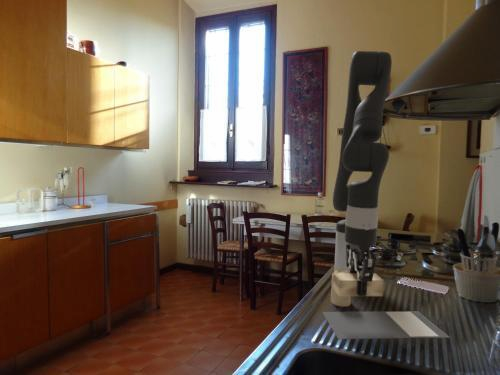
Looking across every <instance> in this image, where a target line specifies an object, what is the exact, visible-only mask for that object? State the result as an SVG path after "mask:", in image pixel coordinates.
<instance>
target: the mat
mask: <svg viewBox="0 0 500 375" xmlns="http://www.w3.org/2000/svg"><path fill="white" fill-rule="evenodd" d="M321 313H322V314H323V316H324V317H325V320H326V321H327V323H328V325H329V326H330V328H331V329H332V331H333V332H334V334H335V337H336V338H337V339H338V340H357V339H359V340H360V339H361V340H365V339H366V340H367V339H369V340H370V339H372V340H373V339H379V340H381V339H382V340H383V339H450V338H451V336H449V335H448V334H447V333H445V331H444V330H442V329H440V328H439V327H438V326H437V325H436V324H435V323H434V322H432V321H431V320H430V319H428V318H427V317H426V316H425V315H424V314H422V313H421V312H420V311H418V310H417V311H416V310H412V311H411V310H410V311H409V310H408V311H406V310H405V311H404V310H401V311H395V310H394V311H390V310H389V311H388V310H387V311H322V312H321Z"/></svg>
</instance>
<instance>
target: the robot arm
mask: <svg viewBox="0 0 500 375" xmlns="http://www.w3.org/2000/svg"><path fill="white" fill-rule="evenodd" d="M392 64H393V63H392V55H391V54H390V52H387V51H374V50H357V51H355V52H353V53H352V56H351V59H350V65H349V73H348V85H347V98H346V100H347V101H346V108H345V115H344V121H343V129H342V134H341V142H340V151H339V162H338V168H337V175H336V179H335V183H334V189H333V193H332V196H333V197H332V205H333V208H334V210H335V211H338V212H345V219H342V220H339V221H338V222H336V227H335V246H334V247H335V250H334V268H333V269H334V270H333V271H334V272H335V271H336V270H337V269H339V270H344V269H345V270H346V271H348V272H349V273H357V279H358V280H357V295H358V296H357V297H367V296H366V294H367V281H372V279H373V273H375V268H376V259H375V258H371V252H370V248H371V247H374V246H375V245H376V244H377V240H378V239H377V237H378V223H379V212H378V207H379V206H378V205H379V204H378V203H379V192H380V186H381V182H382V178H383V175H384V174H385V170H386V167H387V165H388V162H389V158H390V151H389V148H388V147H387V145H386V144H384V143H382V142H378V141H380V139H381V137H382V133H383V116H384V114H383V113H384V108H385V103H386V98H387V94H388V90H389V85H390V84H389V83H390V78H391V74H392V73H391V72H392V66H393V65H392ZM360 86H375V87H374V88H373V90H371V91H370V93H369V94H368V95H367V96H366V97H365V98H364V99H362V98H361V96H360V95H361V94H360ZM354 172H360V173H371V175H370V176H369V178H367V179H364V180H356V181H353V182H350V183H349V180H350V178H351V177H352V174H353V173H354ZM348 183H349V184H348ZM334 272H333V273H334Z"/></svg>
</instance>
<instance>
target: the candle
mask: <svg viewBox="0 0 500 375" xmlns="http://www.w3.org/2000/svg"><path fill="white" fill-rule="evenodd" d="M334 273H349V272H348V271H346V270H345V269H344V270H339V269H337V270H336V271H335V272H332V274H331V286H330V287H331V288H330V289H331V291H330V293H331V294H330V302H331V303H332V305H333V306H338V307H349V306H350V305H351V300H352V296H338V294H337V293H336V292H335V290H334V289H333V275H334Z"/></svg>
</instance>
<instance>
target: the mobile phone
mask: <svg viewBox="0 0 500 375" xmlns="http://www.w3.org/2000/svg"><path fill="white" fill-rule="evenodd" d="M401 277H402V278H401ZM401 277H400V278H401V279H400V278H399V279H400V280H399V279H398V280H397V282H396V284H398V283H399V284H398V285H400V284H403V285H402V286H405V285H407V286H406V287H409V286H411V287H410V288H414V287H416V288H415V289H419V288H421V289H420V290H423V289H424V291H427V292H433V293H437V294H441V293H442V295H446V293H448V291H449V289H450V288H449V286H447V285H444V284H439V283H435V282H429V281H424V280H420V281H418V280H419V279H415V281H414V280H413V279H414V278H411V279H412V280H411V279H410V278H409V277H405V276H401ZM403 277H404V278H403ZM407 279H408V280H407ZM416 280H417V281H416ZM421 281H422V282H421Z"/></svg>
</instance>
